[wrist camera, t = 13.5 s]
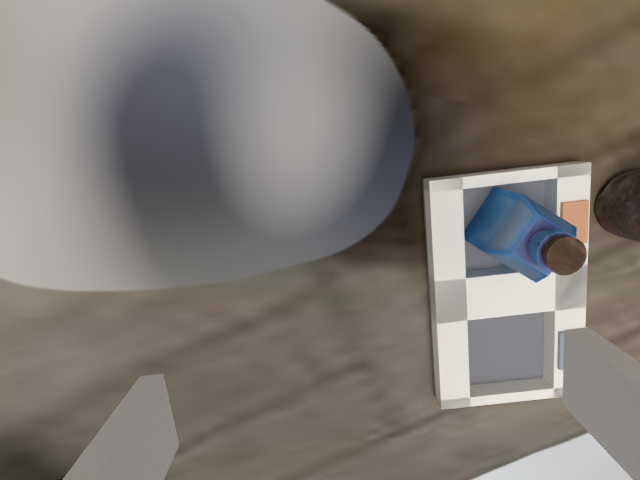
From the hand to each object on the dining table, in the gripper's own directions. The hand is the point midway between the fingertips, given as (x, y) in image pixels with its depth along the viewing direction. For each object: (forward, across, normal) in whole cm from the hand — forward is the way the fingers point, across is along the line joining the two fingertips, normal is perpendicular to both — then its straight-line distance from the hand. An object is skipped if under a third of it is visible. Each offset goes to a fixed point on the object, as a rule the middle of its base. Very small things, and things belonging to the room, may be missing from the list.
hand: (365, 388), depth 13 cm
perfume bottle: (+31, +18, -3) cm, 36 cm away
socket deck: (+32, +18, -10) cm, 38 cm away
